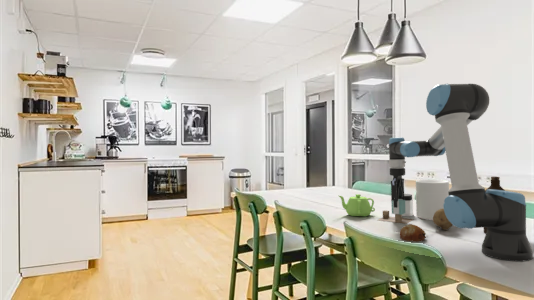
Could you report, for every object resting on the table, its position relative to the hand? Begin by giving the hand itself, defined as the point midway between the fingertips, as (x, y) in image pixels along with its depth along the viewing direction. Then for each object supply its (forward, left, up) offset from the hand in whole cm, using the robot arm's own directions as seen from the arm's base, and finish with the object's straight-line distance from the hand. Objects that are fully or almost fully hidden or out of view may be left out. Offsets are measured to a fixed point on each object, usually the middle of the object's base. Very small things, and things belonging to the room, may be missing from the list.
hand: (398, 212), depth 178 cm
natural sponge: (-4, -22, -5) cm, 23 cm away
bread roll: (-26, -15, -5) cm, 30 cm away
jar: (+16, +2, -5) cm, 17 cm away
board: (+1, +2, -5) cm, 6 cm away
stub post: (+4, +8, -4) cm, 10 cm away
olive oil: (+1, -42, -5) cm, 42 cm away
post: (0, 0, -4) cm, 4 cm away
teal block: (0, 0, 0) cm, 0 cm away
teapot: (+2, +24, -5) cm, 25 cm away
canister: (+18, -12, -5) cm, 22 cm away
